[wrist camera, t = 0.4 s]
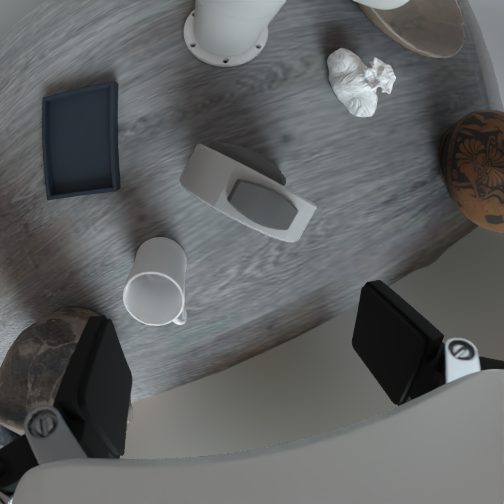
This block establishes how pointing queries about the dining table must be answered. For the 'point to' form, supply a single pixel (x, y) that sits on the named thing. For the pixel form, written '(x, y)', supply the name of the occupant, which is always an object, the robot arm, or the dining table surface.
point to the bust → (358, 81)
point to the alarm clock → (246, 190)
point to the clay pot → (38, 368)
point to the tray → (81, 141)
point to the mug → (157, 283)
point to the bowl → (422, 26)
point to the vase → (476, 167)
